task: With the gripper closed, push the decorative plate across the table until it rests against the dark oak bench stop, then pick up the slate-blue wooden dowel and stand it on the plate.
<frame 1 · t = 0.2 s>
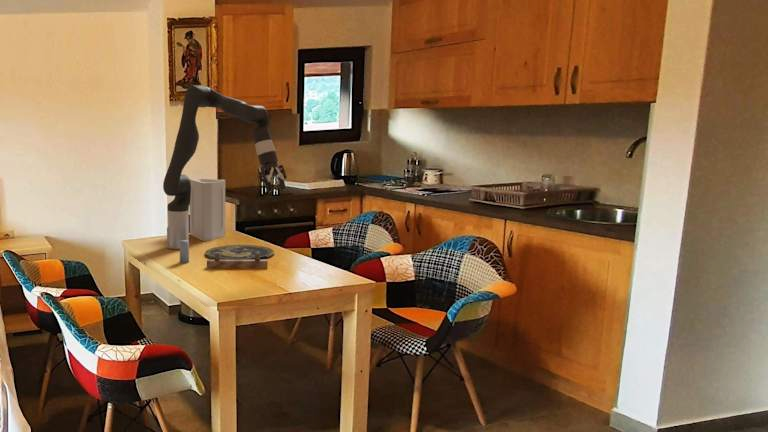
hand: (276, 190, 280), 31 cm above the table, tool tilted 20°, fingers open, 8 cm apart
bench stop: (237, 267, 278), on the table
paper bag: (210, 236, 342), on the table
decorative plate: (239, 255, 303), on the table
dowel: (184, 262, 284), on the table
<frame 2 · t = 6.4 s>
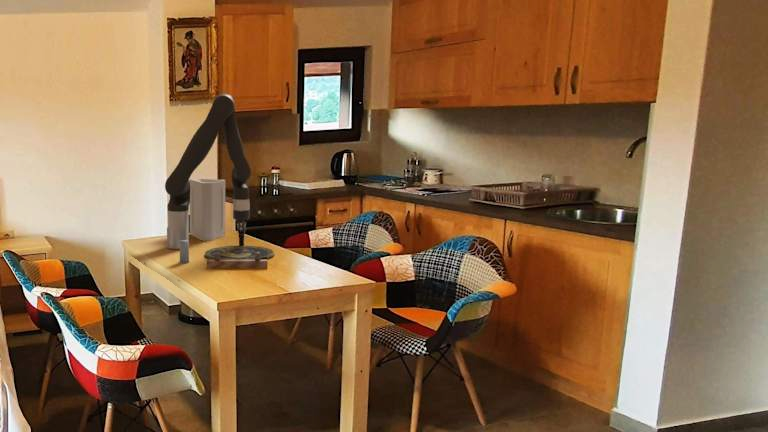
hand: (241, 245, 316), 1 cm above the table, tool pointing down, fingers closed
decorative plate: (239, 256, 301), on the table
everything else where it was.
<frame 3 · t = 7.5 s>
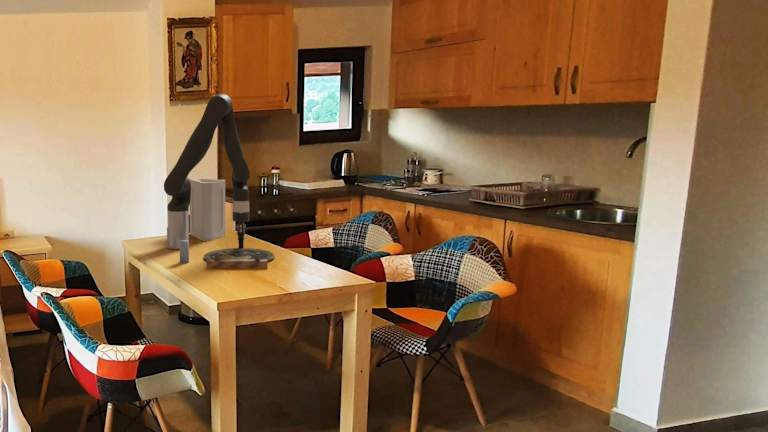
hand: (241, 248, 311), 1 cm above the table, tool pointing down, fingers closed
decorative plate: (239, 259, 296), on the table, touching gripper
everything else where it was.
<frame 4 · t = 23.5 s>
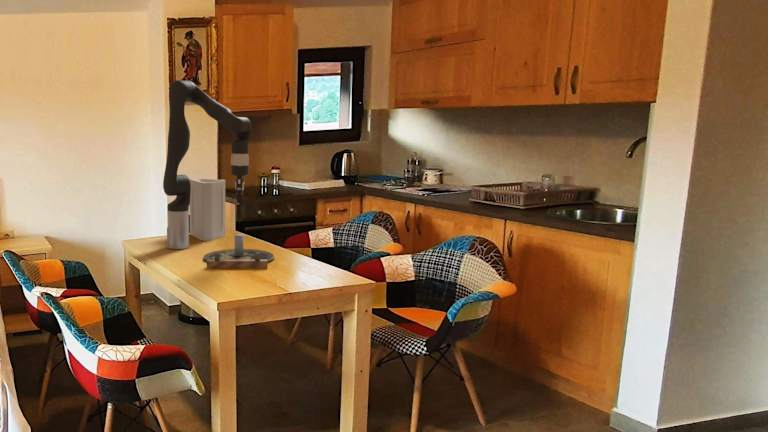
hand: (239, 201, 296), 24 cm above the table, tool pointing down, fingers open, 8 cm apart
decorative plate: (239, 260, 294), on the table, touching dowel
dowel: (238, 255, 294), point 1 cm above the table, touching decorative plate
everything else where it was.
at the end: decorative plate 0.8 cm from the target spot, on the table; dowel inside the target area on the decorative plate (0.3 cm from its centre), point 2.0 cm above the decorative plate's base; dowel tilted 0° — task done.
